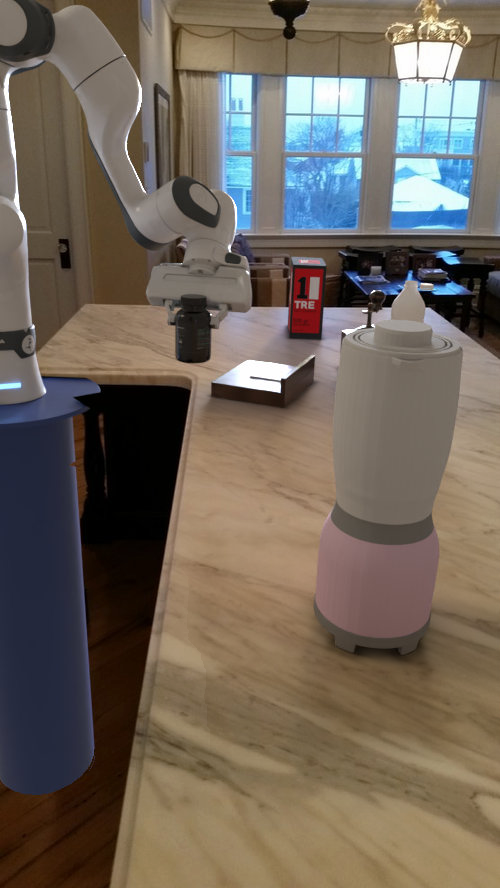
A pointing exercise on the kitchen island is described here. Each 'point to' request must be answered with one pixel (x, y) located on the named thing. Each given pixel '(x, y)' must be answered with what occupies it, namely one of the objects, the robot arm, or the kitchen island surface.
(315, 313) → the cleaning product box
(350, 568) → the blender
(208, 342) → the supplement bottle
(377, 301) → the coffee grinder
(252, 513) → the kitchen island surface
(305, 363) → the shelf
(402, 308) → the water bottle
